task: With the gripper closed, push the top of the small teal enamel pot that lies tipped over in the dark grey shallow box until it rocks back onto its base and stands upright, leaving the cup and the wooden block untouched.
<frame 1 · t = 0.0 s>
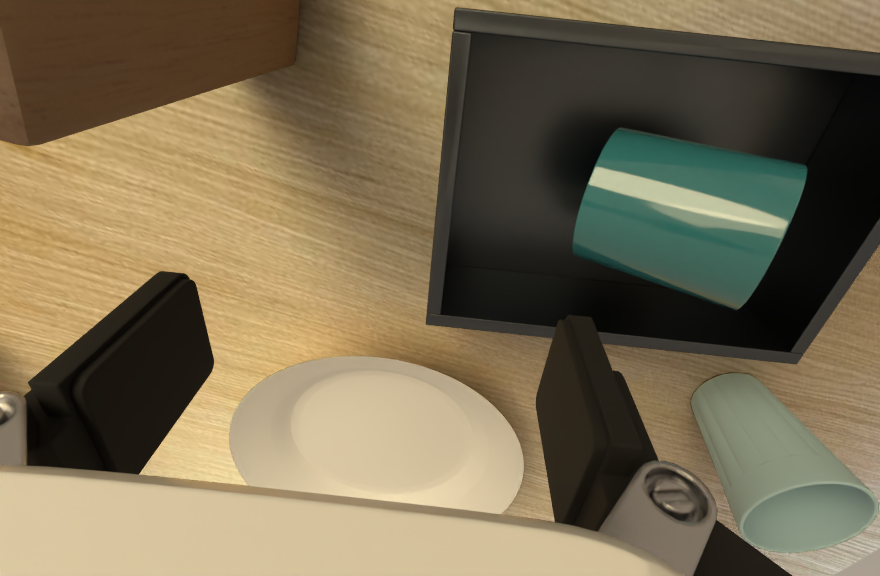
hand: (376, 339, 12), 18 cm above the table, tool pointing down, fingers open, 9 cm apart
dark grey shallow box: (619, 175, 27), on the table
pot: (677, 216, 22), point 6 cm above the table, hinge at 60.1°
cup: (724, 395, 37), on the table
white plate: (383, 432, 41), on the table
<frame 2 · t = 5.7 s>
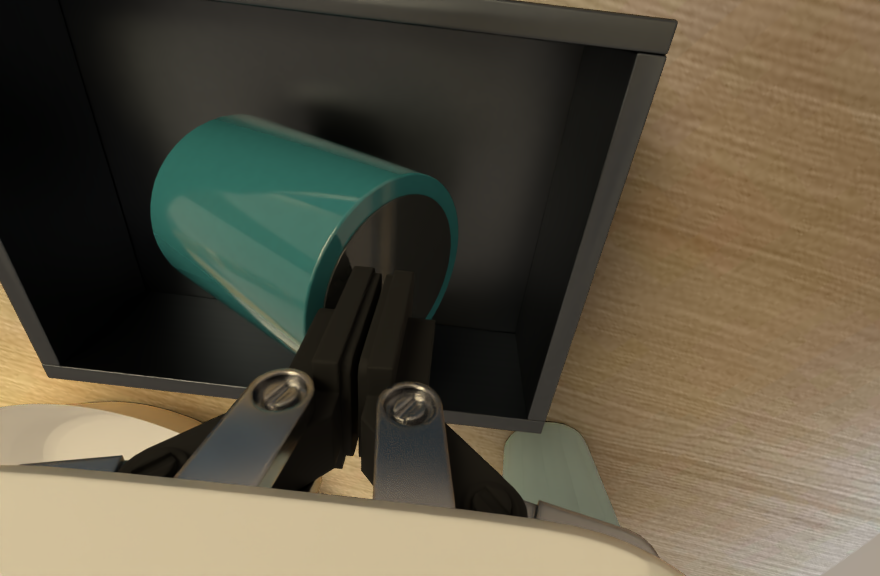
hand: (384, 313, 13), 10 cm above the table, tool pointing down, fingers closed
dark grey shallow box: (331, 181, 21), on the table
pot: (311, 240, 16), point 6 cm above the table, hinge at 56.2°, touching gripper
cup: (544, 446, 30), on the table
white plate: (164, 480, 35), on the table
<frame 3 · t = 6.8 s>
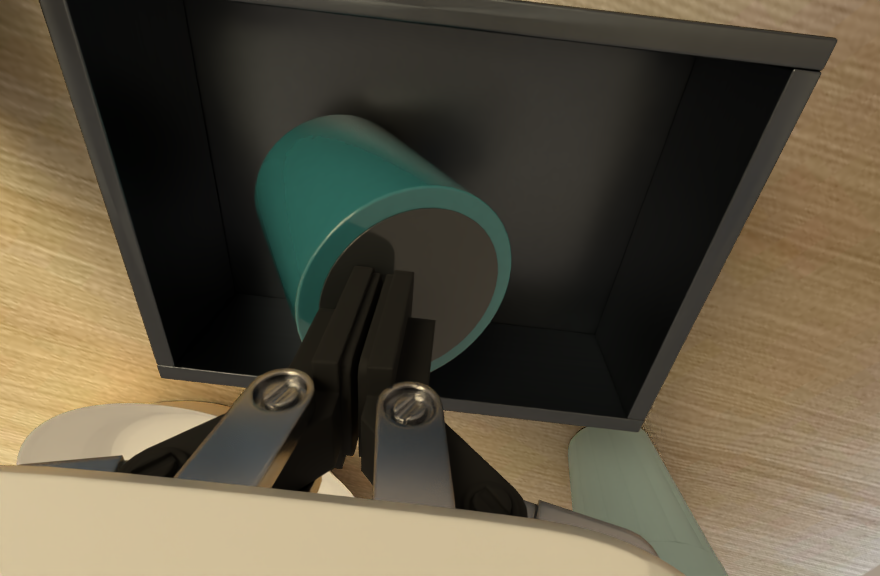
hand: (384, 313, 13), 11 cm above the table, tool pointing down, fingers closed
dark grey shallow box: (427, 187, 22), on the table
pot: (371, 239, 16), point 6 cm above the table, hinge at 29.6°, touching gripper
cup: (607, 444, 31), on the table
white plate: (226, 478, 36), on the table
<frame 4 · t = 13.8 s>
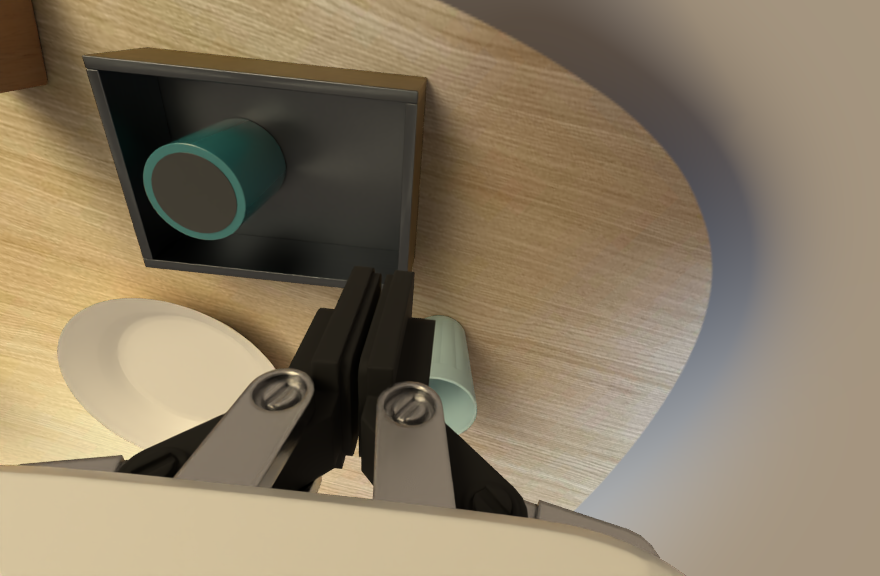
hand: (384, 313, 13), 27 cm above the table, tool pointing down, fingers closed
dark grey shallow box: (295, 163, 38), on the table
pot: (222, 176, 34), point 5 cm above the table, hinge at -0.1°
wooden block: (9, 14, 34), on the table
cup: (439, 334, 47), on the table
white plate: (195, 369, 52), on the table
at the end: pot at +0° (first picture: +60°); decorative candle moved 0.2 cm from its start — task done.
